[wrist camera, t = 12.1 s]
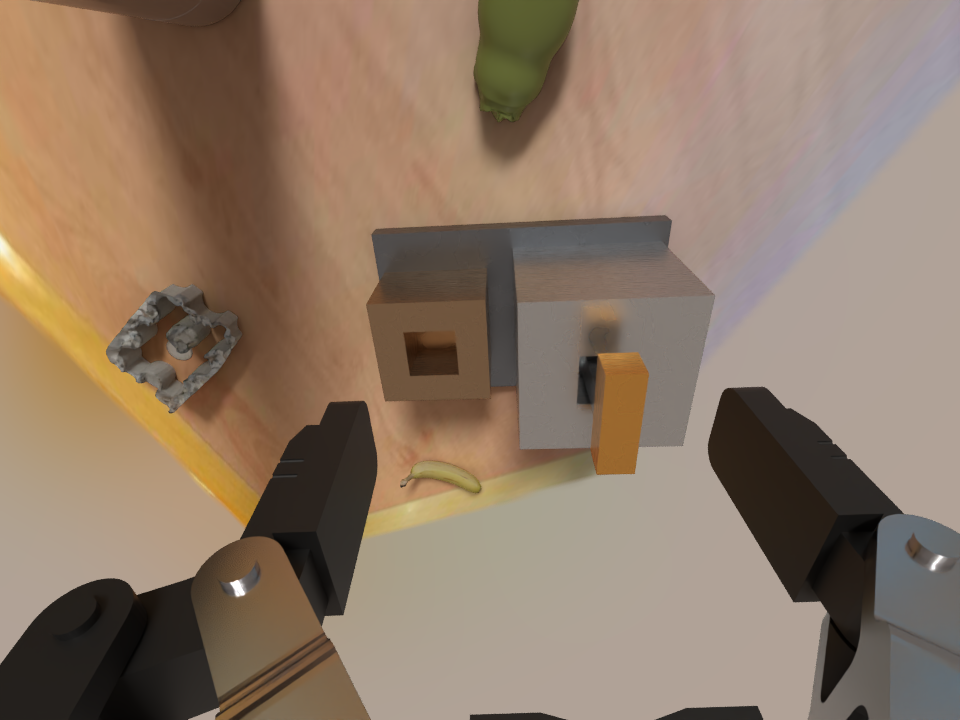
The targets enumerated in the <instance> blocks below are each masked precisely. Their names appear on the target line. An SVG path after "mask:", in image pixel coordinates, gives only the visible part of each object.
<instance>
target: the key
mask: <svg viewBox="0 0 960 720" xmlns="http://www.w3.org/2000/svg"><path fill="white" fill-rule="evenodd" d="M580 368H581V372H582V375H583V379H584V382H585V386H586V389H587V393H588V396H589V400H590V403H591V407H592V411H593V424H592V436H591V453H592V458H593V462H594V466H595V470H596V474H597V475H604V474H635V468H636V460H637V454H638V447H639V440H640V433H641V427H642V420H643V413H644V406H645V399H646V392H647V385H648V378H649V372H648V370H647V368H646V366H645V364H644V362H643V360H642V359H641V357H640V355H639V353H638V352H628V353H601V354H598V356H582V357H580Z"/></svg>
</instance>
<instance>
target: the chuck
mask: <svg viewBox="0 0 960 720" xmlns="http://www.w3.org/2000/svg"><path fill="white" fill-rule="evenodd" d="M671 223H672V220H670V219H669V218H668V217H667V216H666V215H663V216H642V217H621V218H600V219H579V220H558V221H537V222H515V223H494V224H473V225H452V226H431V227H410V228H389V229H376V230H375V231H374V232H373V233H372V240H373V246H374V252H375V258H376V263H377V269H378V275H379V283H378V285H377V287H376V288H375V290H374V292H373V294H372V295H371V297H370V299H369V301H368V302H367V304H366V306H367V311H368V316H369V321H370V326H371V332H372V337H373V342H374V347H375V352H376V357H377V362H378V368H379V373H380V378H381V383H382V388H383V393H384V398H385V401H416V400H453V399H490V398H491V387H495V386H516V394H517V410H518V427H519V444H520V449H560V448H591V436H592V424H593V411H592V407H591V403H590V400H589V396H588V393H587V389H586V386H585V382H584V379H583V375H582V372H581V368H580V357H582V356H598V354H601V353H628V352H638V353H639V355H640V357H641V359H642V360H643V362H644V364H645V366H646V368H647V370H648V372H649V378H648V385H647V392H646V399H645V406H644V413H643V420H642V427H641V433H640V440H639V447H653V446H654V447H656V446H683V443H684V437H685V433H686V429H687V424H688V419H689V415H690V410H691V405H692V401H693V396H694V392H695V387H696V382H697V378H698V373H699V368H700V364H701V359H702V354H703V350H704V345H705V340H706V336H707V331H708V326H709V322H710V317H711V312H712V308H713V303H714V299H715V295H714V294H713V293H712V292H711V291H710V290H709V289H708V288H707V287H706V286H705V285H704V284H703V283H702V282H701V280H700V279H699V278H698V277H697V276H696V275H695V274H694V273H693V272H692V271H691V270H690V269H689V268H688V267H687V266H686V265H685V264H684V263H683V262H682V261H681V260H680V259H679V258H678V257H677V256H676V255H675V254H674V253H673V252H672V251H671V250H670V249H669V248H668V243H669V236H670V229H671Z"/></svg>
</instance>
